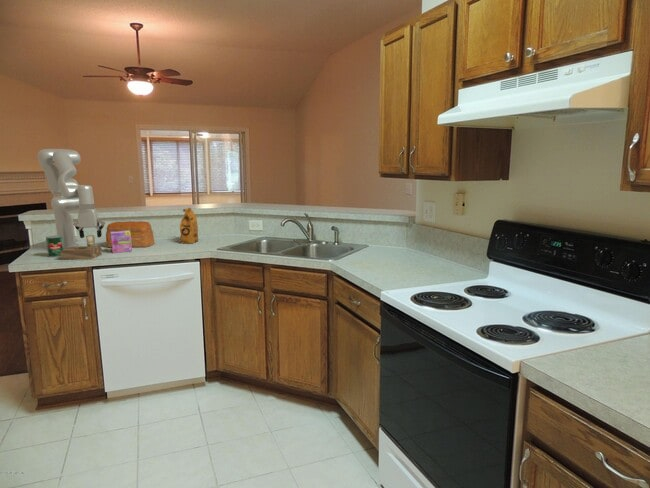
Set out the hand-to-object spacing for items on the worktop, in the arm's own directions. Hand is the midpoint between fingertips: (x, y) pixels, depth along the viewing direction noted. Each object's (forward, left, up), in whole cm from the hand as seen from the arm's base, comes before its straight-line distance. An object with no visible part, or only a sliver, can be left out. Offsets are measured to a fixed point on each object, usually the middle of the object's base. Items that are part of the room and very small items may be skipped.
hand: (90, 237), depth 259 cm
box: (-3, +15, -10) cm, 18 cm away
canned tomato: (+6, -18, -10) cm, 21 cm away
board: (+11, -1, -9) cm, 14 cm away
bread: (-22, +13, -10) cm, 28 cm away
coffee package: (-30, +47, -10) cm, 57 cm away
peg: (0, -1, -9) cm, 9 cm away
